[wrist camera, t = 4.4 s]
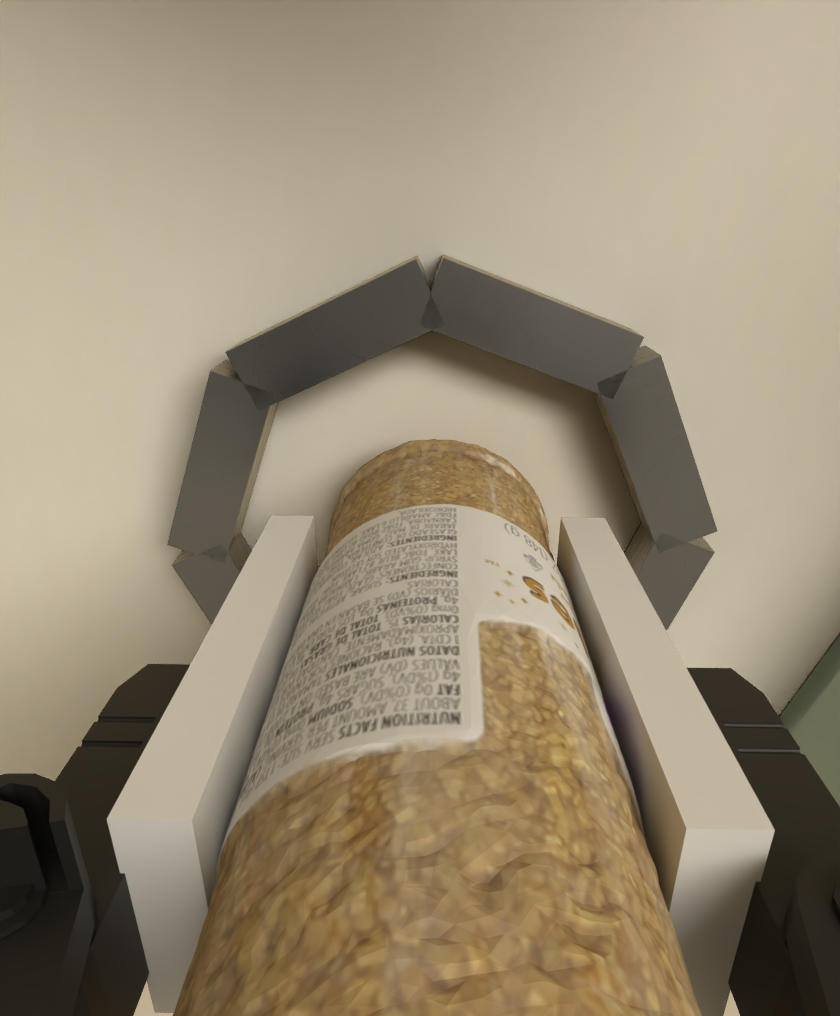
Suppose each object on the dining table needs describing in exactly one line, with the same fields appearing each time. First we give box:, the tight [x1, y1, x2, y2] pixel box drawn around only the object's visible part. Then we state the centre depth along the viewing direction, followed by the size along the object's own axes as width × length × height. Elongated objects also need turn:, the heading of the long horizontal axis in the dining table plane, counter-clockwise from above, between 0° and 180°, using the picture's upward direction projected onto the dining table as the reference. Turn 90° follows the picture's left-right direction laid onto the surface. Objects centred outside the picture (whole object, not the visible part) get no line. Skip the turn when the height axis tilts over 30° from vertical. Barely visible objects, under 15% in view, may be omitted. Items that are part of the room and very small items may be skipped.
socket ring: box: [167, 255, 717, 631], centre depth 14 cm, size 10×10×1 cm
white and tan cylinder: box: [173, 439, 702, 1016], centre depth 8 cm, size 5×5×13 cm
